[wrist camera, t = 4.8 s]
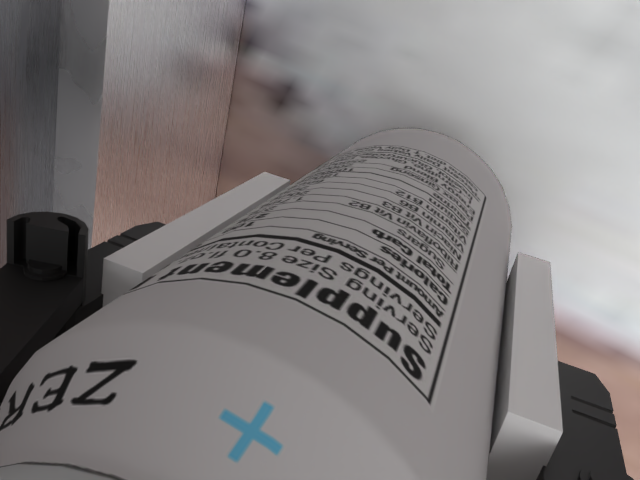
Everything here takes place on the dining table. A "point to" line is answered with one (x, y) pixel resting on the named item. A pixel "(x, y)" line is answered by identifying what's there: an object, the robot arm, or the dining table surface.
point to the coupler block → (113, 108)
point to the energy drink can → (293, 338)
